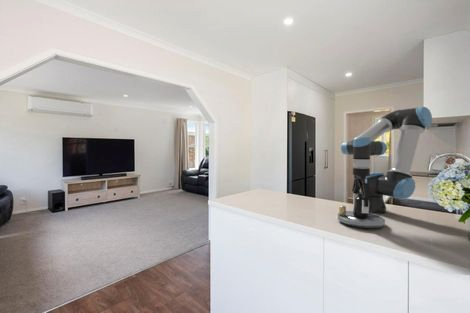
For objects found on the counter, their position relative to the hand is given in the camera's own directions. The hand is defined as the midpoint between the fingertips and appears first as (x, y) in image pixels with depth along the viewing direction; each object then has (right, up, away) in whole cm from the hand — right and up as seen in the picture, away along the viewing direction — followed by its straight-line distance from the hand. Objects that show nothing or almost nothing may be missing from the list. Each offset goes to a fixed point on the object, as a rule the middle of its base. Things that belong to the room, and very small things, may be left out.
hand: (360, 209), depth 114 cm
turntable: (0, -6, 0) cm, 6 cm away
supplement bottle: (0, -4, 0) cm, 4 cm away
